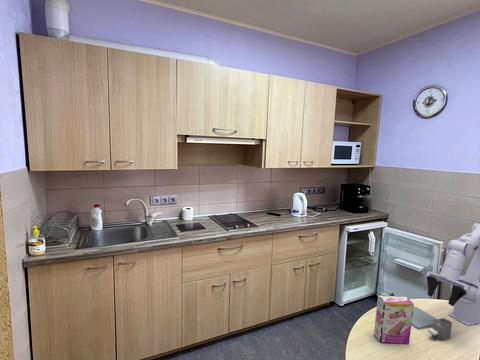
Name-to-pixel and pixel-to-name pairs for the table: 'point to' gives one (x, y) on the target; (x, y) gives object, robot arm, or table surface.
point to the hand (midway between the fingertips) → (439, 300)
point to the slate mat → (421, 319)
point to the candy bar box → (393, 319)
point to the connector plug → (441, 329)
